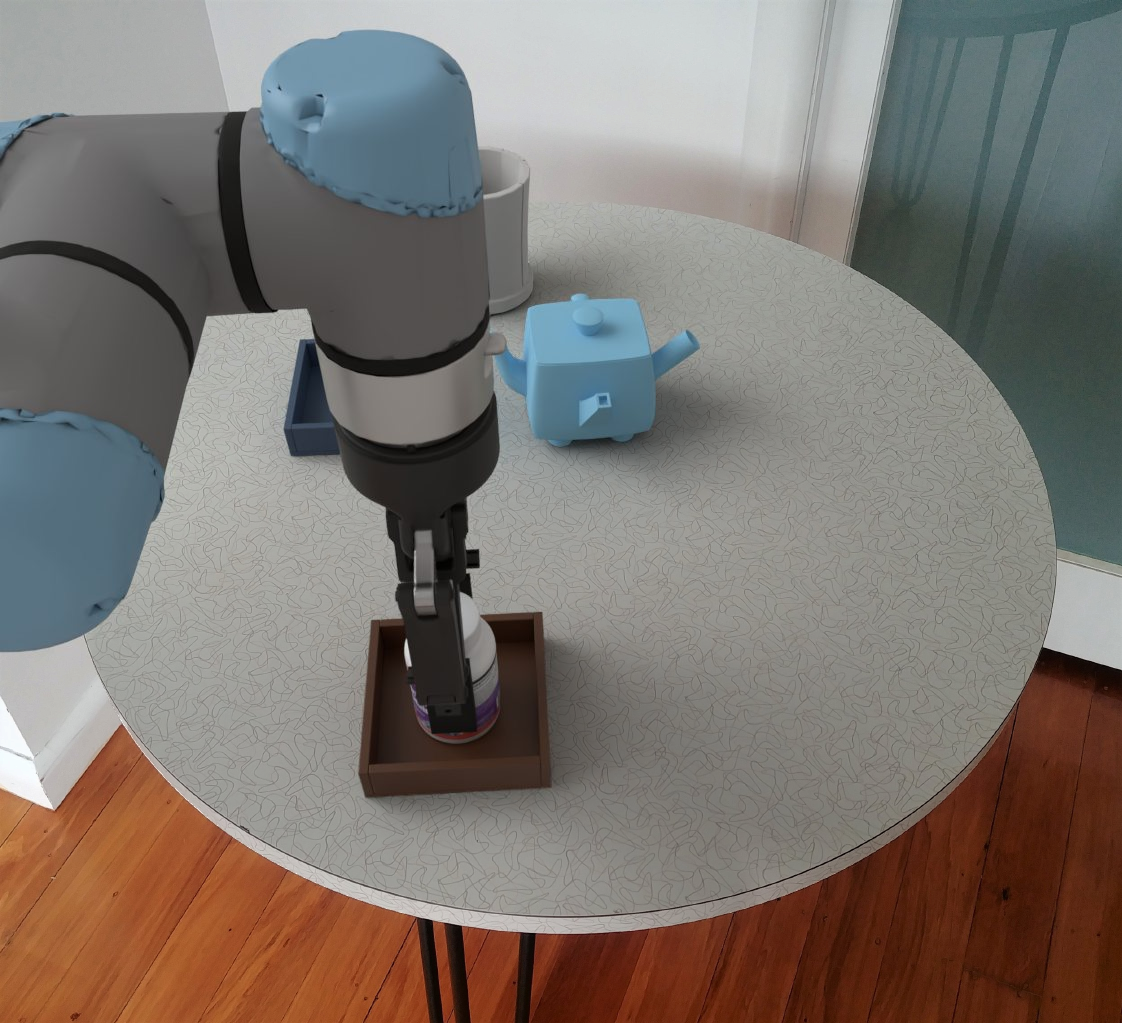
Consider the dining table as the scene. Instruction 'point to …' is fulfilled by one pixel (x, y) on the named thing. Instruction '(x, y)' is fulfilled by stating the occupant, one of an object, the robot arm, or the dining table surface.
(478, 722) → the pill bottle
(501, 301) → the cup
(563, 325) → the teapot
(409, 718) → the near bin
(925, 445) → the dining table surface
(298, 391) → the far bin
